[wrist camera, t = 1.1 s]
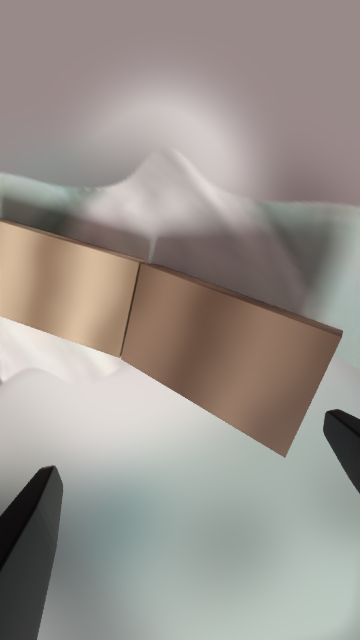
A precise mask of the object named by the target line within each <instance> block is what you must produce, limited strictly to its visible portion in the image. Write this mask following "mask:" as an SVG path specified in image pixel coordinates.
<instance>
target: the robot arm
mask: <svg viewBox="0 0 360 640" xmlns="http://www.w3.org/2000/svg"><path fill="white" fill-rule="evenodd" d="M323 432H324V435H325V437H326V439H327V441H328V442H329V444H330V446H331V448H332V449H333V451H334V453H335V454H336V456H337V458H338V460H339V462H340V463H341V465H342V467H343V469H344V470H345V472H346V474H347V475H348V477H349V479H350V480H351V482H352V483H353V485H354V486H355V488H356V489H357V490H358V492H359V493H360V419H358V418H356V417H354V416H352V415H350V414H348V413H346V412H344V411H342V410H339V409H335V410H330V411H327V412H326V413H325V419H324V426H323ZM62 496H63V483H62V480H61V478H60V475H59V473H58V470H57V468H56V466H53V465H52V466H47V467H43V468H41V469H39V470H38V472H37V473H36V474H35V475H34V477H33V478H32V479H31V480H30V481H29V482H28V484H27V485H26V486H25V487H24V488H23V490H22V491H21V492H20V493H19V494H18V496H17V497H16V498H15V499H14V501H13V502H12V503H11V504H10V505H9V506H8V508H7V509H6V510H5V511H4V512H3V514H2V515H1V516H0V640H37V636H38V632H39V627H40V623H41V618H42V613H43V609H44V604H45V599H46V595H47V590H48V585H49V580H50V576H51V571H52V567H53V562H54V557H55V552H56V547H57V539H58V530H59V521H60V512H61V504H62Z"/></svg>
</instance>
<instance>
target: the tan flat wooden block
mask: <svg viewBox="0 0 360 640" xmlns="http://www.w3.org/2000/svg"><path fill="white" fill-rule="evenodd" d="M342 333H343V331H342V330H339V329H336V328H334V327H331V326H328V325H325V324H322V323H320V322H317V321H314V320H311V319H308V318H306V317H303V316H300V315H297V314H295V313H292V312H289V311H286V310H283V309H281V308H278V307H275V306H272V305H269V304H267V303H264V302H261V301H258V300H255V299H253V298H250V297H247V296H244V295H241V294H239V293H236V292H233V291H230V290H227V289H225V288H222V287H219V286H216V285H213V284H211V283H208V282H205V281H202V280H200V279H197V278H194V277H191V276H188V275H186V274H183V273H180V272H177V271H174V270H172V269H169V268H166V267H163V266H160V265H156V264H141V267H140V272H139V277H138V281H137V286H136V291H135V295H134V300H133V305H132V310H131V314H130V319H129V324H128V328H127V333H126V338H125V343H124V347H123V352H122V357H121V359H122V360H123V361H125V362H127V363H128V364H130V365H132V366H133V367H135V368H137V369H138V370H140V371H142V372H144V373H145V374H147V375H148V376H150V377H152V378H153V379H155V380H157V381H158V382H160V383H162V384H163V385H165V386H167V387H168V388H170V389H172V390H173V391H175V392H177V393H178V394H180V395H182V396H183V397H185V398H187V399H188V400H190V401H192V402H193V403H195V404H197V405H199V406H200V407H202V408H203V409H205V410H207V411H208V412H210V413H212V414H213V415H215V416H217V417H218V418H220V419H222V420H223V421H225V422H227V423H228V424H230V425H232V426H233V427H235V428H236V429H238V430H240V431H241V432H243V433H245V434H246V435H248V436H250V437H252V438H253V439H255V440H256V441H258V442H260V443H262V444H263V445H265V446H266V447H268V448H270V449H271V450H273V451H275V452H276V453H278V454H280V455H282V456H283V457H286V455H287V452H288V450H289V448H290V446H291V444H292V442H293V440H294V437H295V435H296V433H297V431H298V429H299V427H300V425H301V423H302V420H303V418H304V416H305V414H306V412H307V410H308V408H309V406H310V404H311V401H312V399H313V397H314V395H315V393H316V391H317V389H318V386H319V384H320V382H321V380H322V378H323V376H324V374H325V372H326V370H327V367H328V365H329V363H330V361H331V359H332V357H333V355H334V353H335V350H336V348H337V346H338V344H339V342H340V340H341V338H342Z"/></svg>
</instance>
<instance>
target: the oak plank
mask: <svg viewBox="0 0 360 640" xmlns="http://www.w3.org/2000/svg"><path fill="white" fill-rule="evenodd" d="M141 264H148V261H145V260H142V259H138V258H135V257H132V256H128V255H125V254H121V253H118V252H115V251H111V250H108V249H104V248H101V247H98V246H94V245H91V244H87V243H84V242H80V241H77V240H74V239H70V238H67V237H63V236H60V235H57V234H53V233H50V232H46V231H43V230H40V229H36V228H33V227H29V226H26V225H22V224H19V223H16V222H12V221H9V220H5V219H0V316H1V317H4V318H7V319H10V320H13V321H15V322H18V323H21V324H24V325H27V326H30V327H33V328H35V329H38V330H41V331H44V332H47V333H50V334H53V335H55V336H58V337H61V338H64V339H67V340H70V341H73V342H76V343H78V344H81V345H84V346H87V347H90V348H93V349H96V350H98V351H101V352H104V353H107V354H110V355H113V356H116V357H118V358H120V357H121V356H122V352H123V347H124V343H125V338H126V333H127V328H128V324H129V319H130V314H131V310H132V305H133V300H134V295H135V291H136V286H137V281H138V277H139V272H140V267H141Z"/></svg>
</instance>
